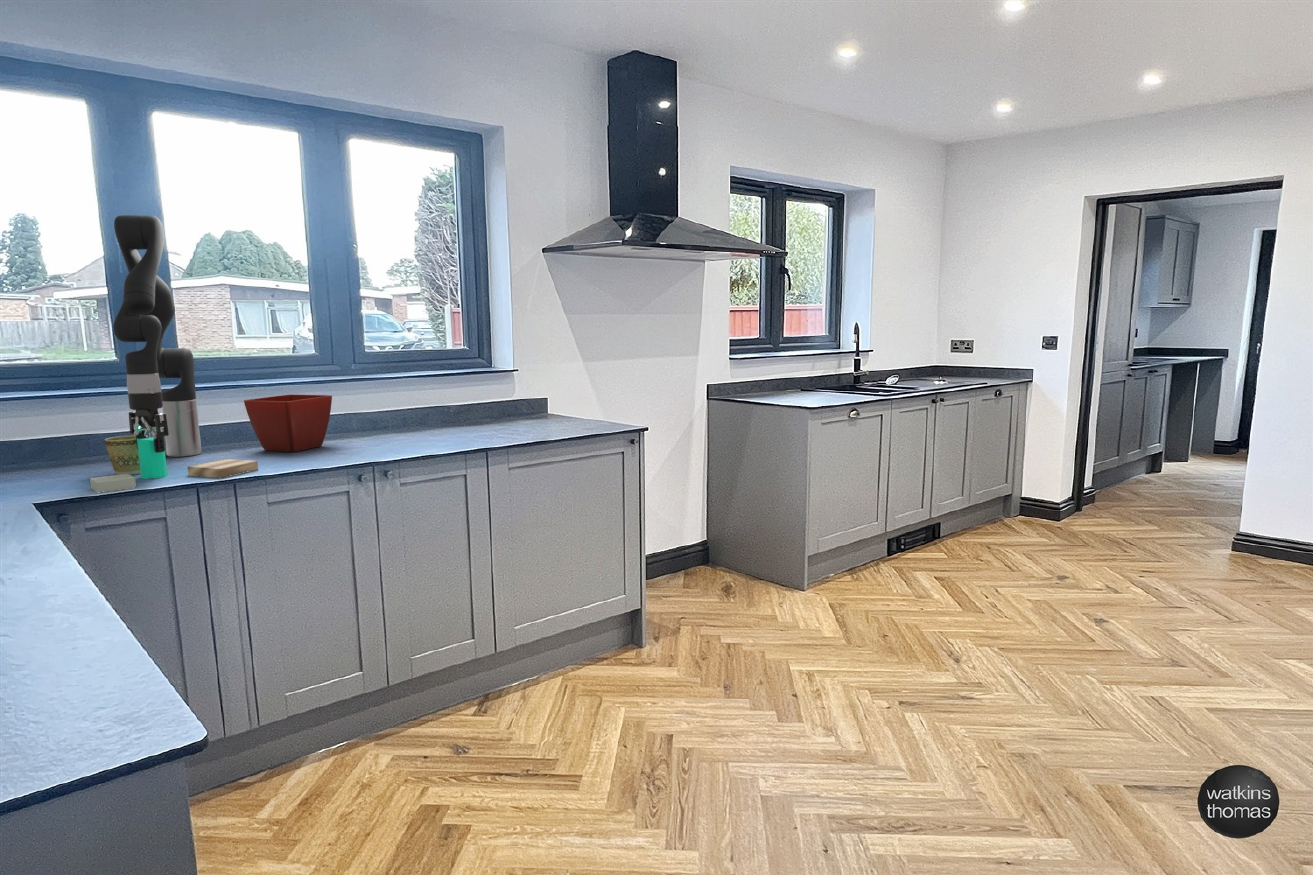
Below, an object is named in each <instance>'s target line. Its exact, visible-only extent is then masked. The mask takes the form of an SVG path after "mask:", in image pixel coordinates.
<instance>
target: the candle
mask: <svg viewBox="0 0 1313 875" xmlns="http://www.w3.org/2000/svg"><path fill="white" fill-rule="evenodd" d="M148 434H149V436H150V437H151V438H149V437H148V438H145V439H137V445H138V454H139V462H140V471H141V474H140V478H141V479H143V478H144V479H145V480H149V479H148V478H154V479H160V478H165V477H167V476H168V469H167V468H168V467H167V459H166V453H165V452H166V451H164V452H159V453H156V452H155V450H154V440H153V439H154V438H153V436H151V432H148ZM144 479H143V480H144Z"/></svg>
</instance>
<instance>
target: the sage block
mask: <svg viewBox="0 0 1313 875" xmlns="http://www.w3.org/2000/svg"><path fill="white" fill-rule="evenodd" d="M89 481H90V488H92V490H93V489H94V490H95V491H94V490H93V491H94V492H96V491H97V492H103V491H111V492H114V491H113V490H118V491H121V490H120V489H125V490H128V489H127V488H132V489H135V488H134V487H136V488H137V483H136V477H135V476H134V475H129V474H120V475H116V474H113V475H106V476H104V475H103V476H99V477H97V476H96V477H89ZM97 492H96V493H97ZM103 493H104V492H103Z"/></svg>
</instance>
